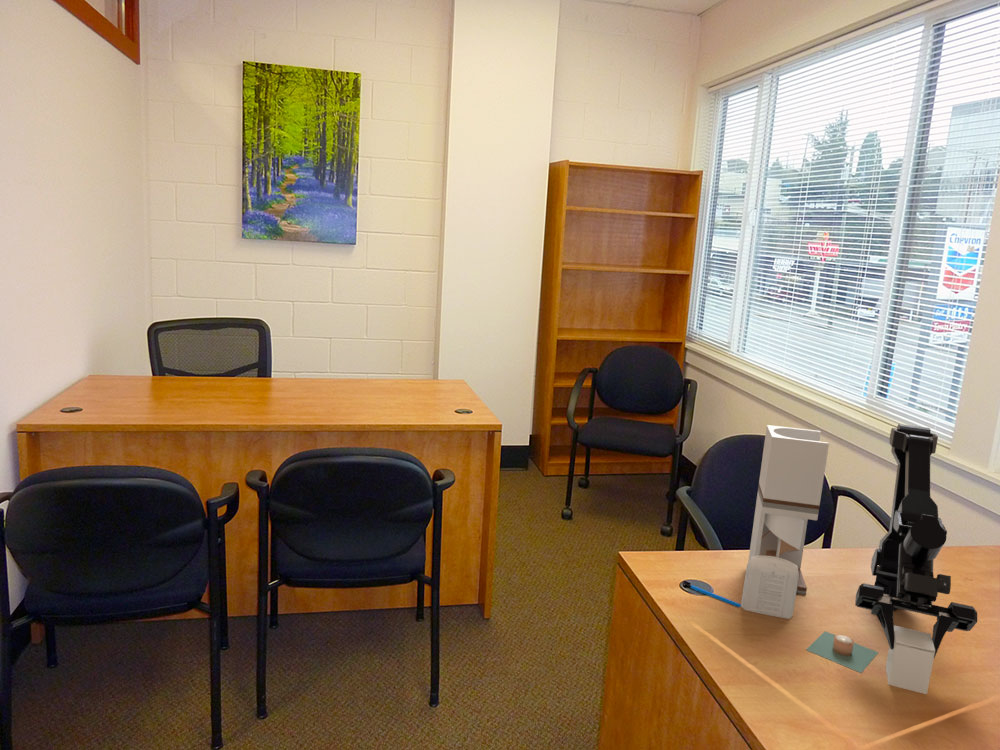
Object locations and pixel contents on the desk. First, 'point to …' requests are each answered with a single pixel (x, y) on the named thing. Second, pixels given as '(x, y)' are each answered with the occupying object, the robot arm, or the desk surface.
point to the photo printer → (770, 586)
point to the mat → (855, 661)
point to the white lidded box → (910, 660)
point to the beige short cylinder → (843, 645)
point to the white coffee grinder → (788, 493)
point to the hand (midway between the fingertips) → (912, 653)
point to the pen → (714, 595)
